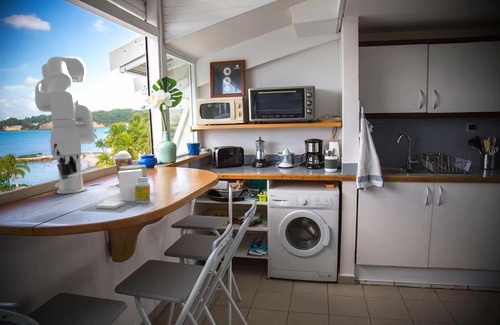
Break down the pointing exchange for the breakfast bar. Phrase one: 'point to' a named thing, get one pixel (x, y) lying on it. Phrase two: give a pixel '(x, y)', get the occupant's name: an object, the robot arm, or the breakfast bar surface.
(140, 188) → the supplement bottle
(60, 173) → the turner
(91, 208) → the mat
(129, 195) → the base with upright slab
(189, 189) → the breakfast bar surface
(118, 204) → the tile
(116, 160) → the smoothie
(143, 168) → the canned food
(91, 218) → the breakfast bar surface
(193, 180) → the breakfast bar surface
